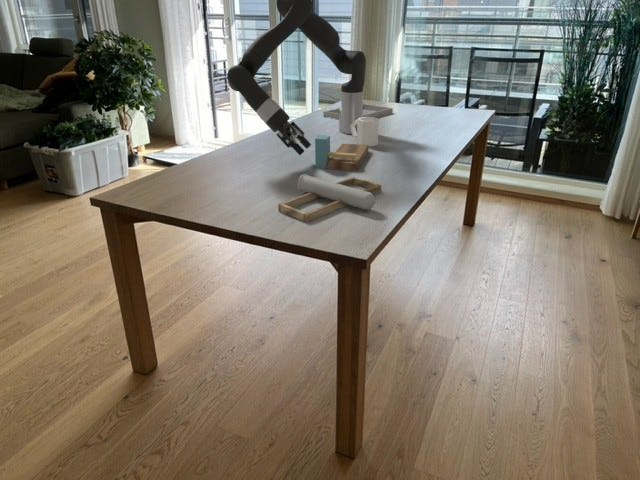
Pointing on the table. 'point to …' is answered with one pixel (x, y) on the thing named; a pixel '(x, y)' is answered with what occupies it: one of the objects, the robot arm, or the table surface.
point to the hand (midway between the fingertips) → (305, 150)
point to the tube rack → (287, 205)
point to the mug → (366, 131)
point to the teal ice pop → (326, 151)
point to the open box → (348, 162)
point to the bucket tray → (379, 109)
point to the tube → (336, 192)
